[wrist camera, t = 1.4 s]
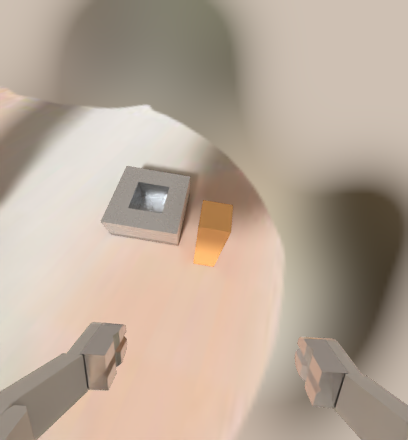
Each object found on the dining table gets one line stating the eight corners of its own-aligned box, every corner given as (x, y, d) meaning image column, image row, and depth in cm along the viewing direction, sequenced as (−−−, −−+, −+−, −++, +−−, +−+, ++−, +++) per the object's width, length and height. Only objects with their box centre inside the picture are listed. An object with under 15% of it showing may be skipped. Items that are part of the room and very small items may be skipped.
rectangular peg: (193, 263, 32) (198, 226, 20) (196, 244, 34) (203, 200, 22) (213, 266, 32) (230, 232, 20) (215, 247, 34) (232, 205, 22)
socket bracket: (111, 234, 33) (100, 221, 29) (133, 182, 39) (126, 165, 35) (178, 245, 34) (176, 234, 29) (189, 192, 39) (190, 176, 35)
